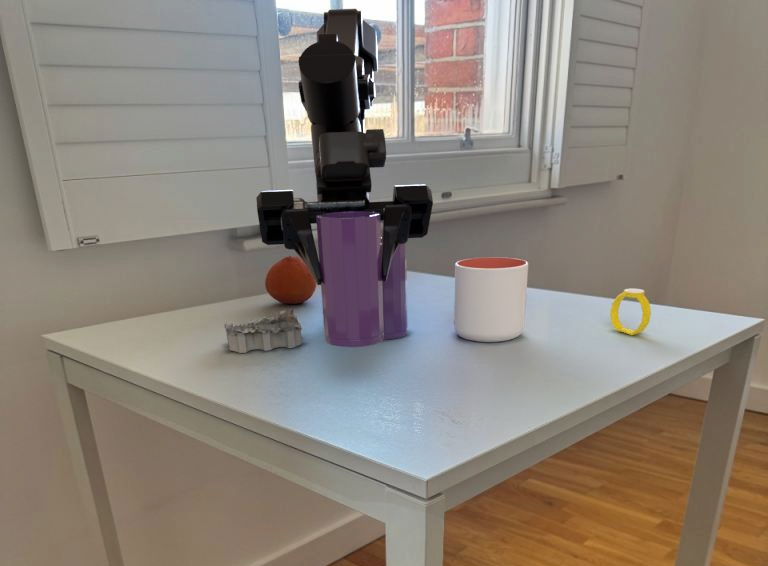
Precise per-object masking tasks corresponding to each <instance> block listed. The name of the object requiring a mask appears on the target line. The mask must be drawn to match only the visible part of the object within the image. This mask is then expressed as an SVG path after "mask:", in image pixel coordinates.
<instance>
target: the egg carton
mask: <svg viewBox="0 0 768 566" xmlns="http://www.w3.org/2000/svg"><path fill="white" fill-rule="evenodd" d="M224 329H225V332H226V339H227V340H226V341H227V345H228V348H229V351H231V352H235V353H239V354H246V353H248V352H250V351H254V350H260V351H261V350H262V351H265V352H268V351H271V350H273V349H275V348H287V349H294V348H296V347H298V346H302V344H303V338H302V329H303V327H302V325H301V323H300V322H299V320H298V317H297V315H296V312H294V309H293V308H292V309H284V310H279V311H277V312H273V314H272V316H271V317H262V318H261V319H259V320H255V321H251V320H250V321H246V322H241V323H240V324H235V325H233V323H231V324H227V323H224Z"/></svg>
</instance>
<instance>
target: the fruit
mask: <svg viewBox="0 0 768 566" xmlns="http://www.w3.org/2000/svg"><path fill="white" fill-rule="evenodd" d="M264 287H265V290H266V292H267V294H268V295H269V296H270V297H272V299H274V300H275V301H277V302H278V303H281V304H287V305H289V304H290V305H291V304H292V305H296V304H302V303H303V304H304V303H305V302H307V301H309V300H310V299H311V298H312V297H313V295H314V294H315V292H316V288H317V283H316V281H315V279H314V278H313V276H312V274H311V272H310V271H309V269H308V267H307V266H306V264H305V262H304V261H303V260H302V259H301V258H300V256H291V255H288V256H285V257H283V258H282V259H280V260H278V261H277V262H274V264H273V265H272V266H271V267H270V268H269V270H268V271H267V273H266V277H265V281H264Z"/></svg>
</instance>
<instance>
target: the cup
mask: <svg viewBox="0 0 768 566" xmlns="http://www.w3.org/2000/svg"><path fill="white" fill-rule="evenodd" d="M528 275H529V262H528V261H526V260H525V259H524V260H523V259H520V258H516V257H515V258H514V257H502V256H501V257H499V256H494V257H491V256H489V257H488V256H487V257H474V258H473V257H472V258H466V259H461V260H458V261H456V262H455V263H454V299H453V300H454V304H453V307H454V310H453V329H454V331H455V333H456V334H457V335H458V336H459V337H461V338H462V339H465V340H468V341H472V342H482V343H497V342H499V343H500V342H505V341H511V340H513V339H515V338H518V337H519V336H520V335H521V334H522V333H523V331H524V329H525V323H526V310H527V309H526V307H527V294H528V293H527V292H528V278H529V276H528Z"/></svg>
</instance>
